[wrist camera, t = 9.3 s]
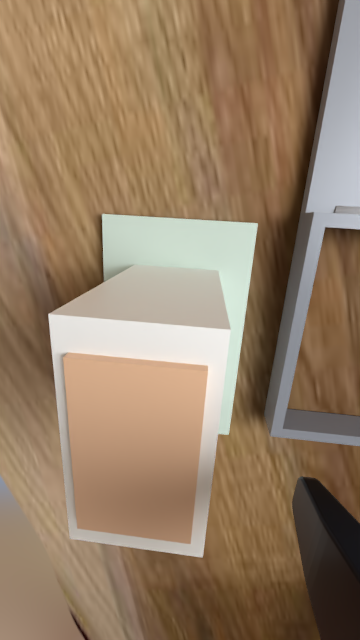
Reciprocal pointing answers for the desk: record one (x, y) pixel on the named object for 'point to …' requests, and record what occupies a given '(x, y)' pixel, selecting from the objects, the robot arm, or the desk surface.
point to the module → (141, 406)
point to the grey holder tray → (322, 229)
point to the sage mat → (190, 266)
